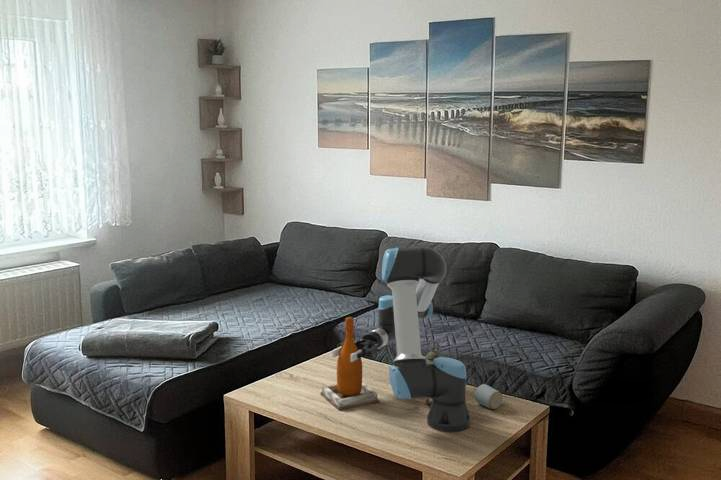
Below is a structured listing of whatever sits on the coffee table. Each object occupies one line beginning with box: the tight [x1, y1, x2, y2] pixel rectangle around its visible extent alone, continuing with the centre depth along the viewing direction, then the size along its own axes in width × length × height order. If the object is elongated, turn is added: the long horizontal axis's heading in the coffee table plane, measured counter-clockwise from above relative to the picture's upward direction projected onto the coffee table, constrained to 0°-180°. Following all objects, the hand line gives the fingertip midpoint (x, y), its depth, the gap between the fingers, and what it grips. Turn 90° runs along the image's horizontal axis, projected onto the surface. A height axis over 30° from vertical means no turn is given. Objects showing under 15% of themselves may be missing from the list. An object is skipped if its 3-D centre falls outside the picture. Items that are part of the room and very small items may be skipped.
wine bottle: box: [336, 316, 363, 396], centre depth 291 cm, size 10×10×30 cm
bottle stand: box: [320, 381, 380, 411], centre depth 294 cm, size 17×17×4 cm
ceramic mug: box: [474, 383, 505, 410], centre depth 287 cm, size 11×8×8 cm
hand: (342, 356), depth 287 cm, fingers closed on wine bottle, 8 cm apart
